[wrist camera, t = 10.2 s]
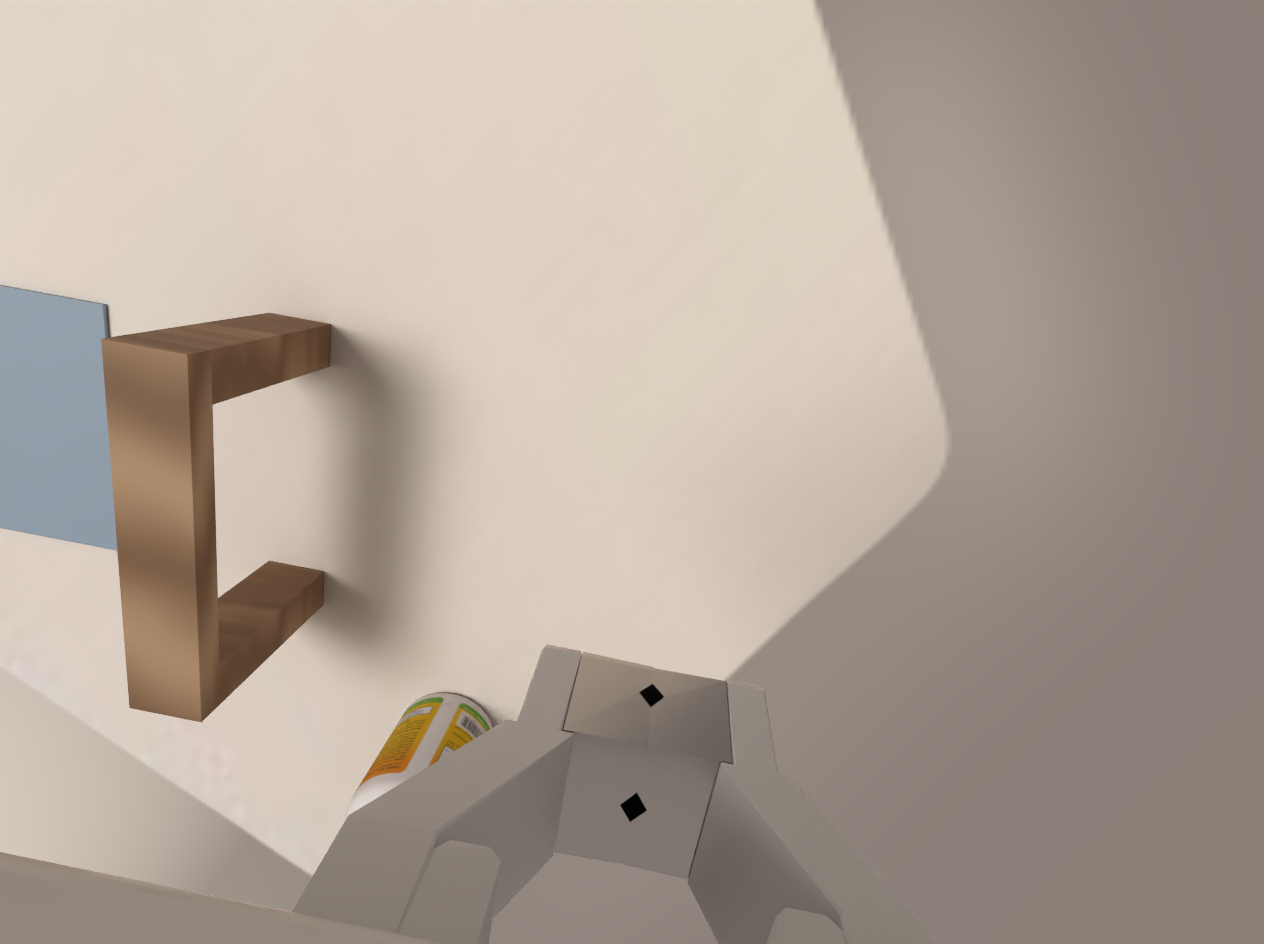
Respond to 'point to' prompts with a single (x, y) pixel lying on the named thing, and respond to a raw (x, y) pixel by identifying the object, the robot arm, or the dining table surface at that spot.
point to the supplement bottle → (421, 742)
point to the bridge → (195, 508)
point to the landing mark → (54, 419)
